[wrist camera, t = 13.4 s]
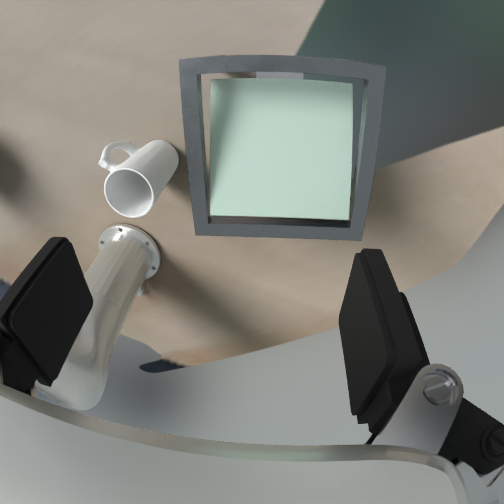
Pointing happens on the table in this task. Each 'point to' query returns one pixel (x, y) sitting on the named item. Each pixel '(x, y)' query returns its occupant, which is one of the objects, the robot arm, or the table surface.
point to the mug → (138, 175)
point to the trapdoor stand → (280, 226)
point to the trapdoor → (280, 148)
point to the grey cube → (280, 75)
